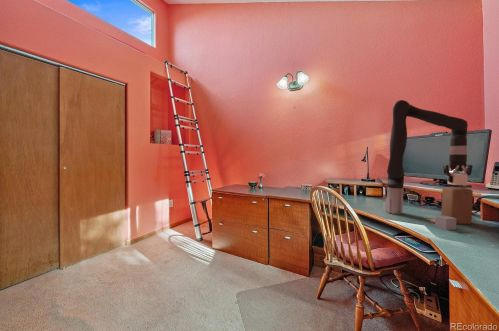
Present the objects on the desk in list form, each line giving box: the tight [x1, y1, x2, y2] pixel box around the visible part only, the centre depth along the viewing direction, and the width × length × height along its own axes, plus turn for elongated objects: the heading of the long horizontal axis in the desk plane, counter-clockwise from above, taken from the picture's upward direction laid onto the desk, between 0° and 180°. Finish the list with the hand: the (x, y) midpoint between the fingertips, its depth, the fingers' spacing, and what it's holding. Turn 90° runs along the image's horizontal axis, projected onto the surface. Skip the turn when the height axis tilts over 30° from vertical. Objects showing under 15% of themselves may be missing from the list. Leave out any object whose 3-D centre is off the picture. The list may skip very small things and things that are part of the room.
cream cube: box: [447, 173, 469, 186], centre depth 129 cm, size 6×6×6 cm
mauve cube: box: [434, 215, 457, 231], centre depth 119 cm, size 6×6×6 cm
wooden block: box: [441, 186, 474, 225], centre depth 130 cm, size 10×10×20 cm
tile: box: [424, 218, 435, 224], centre depth 131 cm, size 8×8×1 cm
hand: (457, 182), depth 129 cm, fingers closed on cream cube, 6 cm apart
